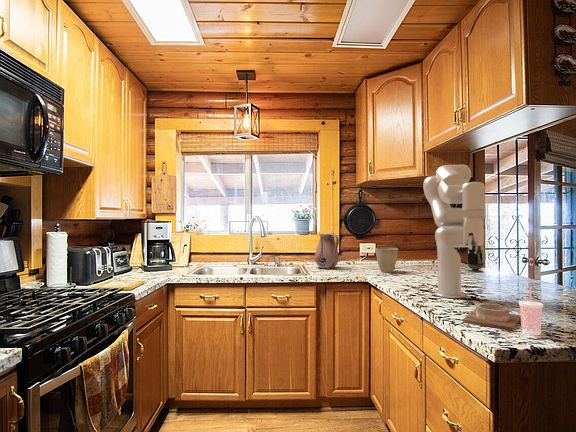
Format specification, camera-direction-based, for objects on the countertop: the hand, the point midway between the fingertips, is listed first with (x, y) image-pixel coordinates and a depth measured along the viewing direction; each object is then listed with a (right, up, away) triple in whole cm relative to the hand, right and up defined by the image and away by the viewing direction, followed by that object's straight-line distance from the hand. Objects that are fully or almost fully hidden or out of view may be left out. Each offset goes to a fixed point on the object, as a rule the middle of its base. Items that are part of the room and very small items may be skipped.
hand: (475, 263), depth 124 cm
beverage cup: (+5, -18, -22) cm, 29 cm away
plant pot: (-3, -20, +101) cm, 103 cm away
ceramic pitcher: (-40, -21, +121) cm, 129 cm away
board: (+1, -18, -9) cm, 20 cm away
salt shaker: (0, -3, 0) cm, 3 cm away
